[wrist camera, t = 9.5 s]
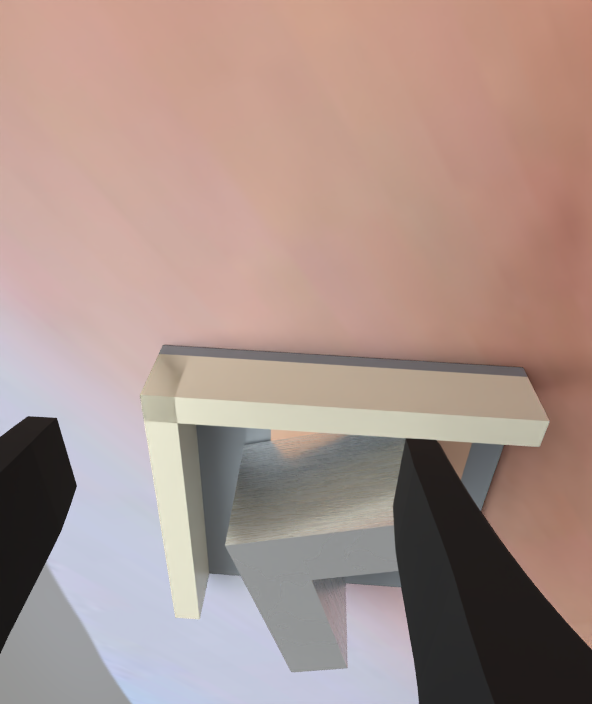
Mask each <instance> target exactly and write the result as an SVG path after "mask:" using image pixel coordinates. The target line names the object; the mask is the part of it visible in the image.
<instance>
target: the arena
mask: <svg viewBox="0 0 592 704" xmlns="http://www.w3.org/2000/svg"><path fill="white" fill-rule="evenodd" d="M140 399H141V405H142V411H143V418H144V424H145V430H146V436H147V443H148V449H149V455H150V462H151V468H152V474H153V480H154V487H155V493H156V499H157V506H158V512H159V518H160V524H161V531H162V537H163V543H164V549H165V556H166V562H167V568H168V575H169V581H170V587H171V593H172V600H173V606H174V612H175V618H188V619H200V615H201V610H202V606H203V601H204V596H205V591H206V586H207V581H208V577H209V573H210V574H224V575H238V576H241V575H240V573H239V572H238V570H237V568H236V566H235V564H234V562H233V560H232V558H231V556H230V554H229V552H228V551H227V549H226V547H225V543H226V537H227V532H228V527H229V522H230V516H231V511H232V506H233V500H234V495H235V490H236V485H237V479H238V474H239V469H240V463H241V458H242V453H243V447H244V445H247V444H253V443H260V442H266V441H272V440H279V439H285V438H292V437H298V436H304V435H311V434H317V433H333V434H349V435H364V436H379V437H394V438H414V439H431V440H437V441H438V443H439V444H440V445H441V447H442V449H443V450H444V452H445V454H446V456H447V458H448V459H449V461H450V463H451V465H452V466H453V468H454V470H455V471H456V473H457V475H458V476H459V478H460V480H461V481H462V483H463V484H464V486H465V488H466V489H467V491H468V493H469V494H470V496H471V497H472V499H473V500H474V502H475V503H476V505H477V507H478V508H479V509H480V511H481V509H482V506H483V503H484V500H485V497H486V495H487V492H488V489H489V486H490V483H491V480H492V477H493V475H494V472H495V469H496V466H497V463H498V460H499V458H500V455H501V452H502V449H503V446H504V445H516V446H532V447H540V444H541V442H542V439H543V437H544V434H545V432H546V429H547V427H548V424H549V422H550V421H549V419H548V417H547V415H546V413H545V411H544V409H543V407H542V405H541V403H540V401H539V399H538V397H537V395H536V393H535V391H534V389H533V387H532V385H531V383H530V381H529V379H528V377H527V375H526V372H525V370H524V368H521V367H505V366H489V365H473V364H457V363H441V362H425V361H409V360H393V359H377V358H361V357H345V356H329V355H313V354H297V353H281V352H264V351H248V350H232V349H216V348H200V347H184V346H168V345H163V346H162V348H161V350H160V353H159V355H158V357H157V359H156V361H155V363H154V366H153V368H152V370H151V372H150V374H149V376H148V378H147V381H146V383H145V385H144V387H143V389H142V391H141V394H140ZM345 581H346V583H349V584H363V585H377V586H391V587H401V582H400V576H399V571H393V572H383V573H374V574H364V575H355V576H345Z"/></svg>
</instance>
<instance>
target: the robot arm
mask: <svg viewBox="0 0 592 704" xmlns="http://www.w3.org/2000/svg"><path fill="white" fill-rule="evenodd" d="M76 487H77V485H76V481H75V478H74V475H73V471H72V468H71V465H70V461H69V458H68V454H67V451H66V448H65V444H64V441H63V437H62V434H61V431H60V427H59V424H58V420H57V418H48V417H30V416H28V417H26V418H25V419H24V420H22V421H21V422H19V423H18V424H17V425H15V426H14V427H13V428H11V429H10V430H9V431H7V432H6V433H5V434H4V435H2V436H1V437H0V653H1V651H2V649H3V647H4V644H5V642H6V640H7V638H8V636H9V634H10V631H11V630H12V628H13V626H14V624H15V622H16V620H17V618H18V616H19V614H20V612H21V610H22V608H23V606H24V604H25V602H26V600H27V598H28V596H29V594H30V592H31V590H32V588H33V586H34V585H35V583H36V580H37V579H38V577H39V575H40V573H41V571H42V569H43V566H44V565H45V563H46V561H47V559H48V557H49V555H50V553H51V551H52V549H53V547H54V545H55V543H56V541H57V539H58V536H59V534H60V532H61V530H62V527H63V524H64V522H65V519H66V516H67V514H68V511H69V508H70V505H71V502H72V499H73V496H74V493H75V490H76ZM393 518H394V536H395V551H396V558H397V565H398V571H399V576H400V582H401V588H402V594H403V600H404V606H405V611H406V617H407V623H408V629H409V635H410V640H411V646H412V652H413V658H414V664H415V671H416V679H417V686H418V696H419V704H592V650H591V648H590V647H589V646H588V645H587V644H586V643H585V642H584V641H583V640H582V639H581V638H580V636H579V635H578V634H577V633H576V632H575V631H574V630H573V629H572V628H571V627H570V626H569V624H568V623H567V622H566V621H565V620H564V619H563V618H562V616H561V615H560V614H559V613H558V612H557V611H556V610H555V608H554V607H553V606H552V605H551V604H550V603H549V601H548V600H547V599H546V598H545V597H544V596H543V594H542V593H541V592H540V591H539V589H538V588H537V587H536V586H535V585H534V583H533V582H532V581H531V580H530V578H529V577H528V576H527V575H526V573H525V572H524V571H523V569H522V568H521V567H520V565H519V564H518V563H517V561H516V560H515V559H514V558H513V556H512V555H511V554H510V552H509V551H508V550H507V548H506V547H505V545H504V544H503V543H502V541H501V540H500V539H499V537H498V536H497V534H496V533H495V531H494V530H493V528H492V527H491V526H490V524H489V523H488V521H487V520H486V518H485V517H484V515H483V514H482V512H481V511H480V509H479V508H478V507H477V505H476V503H475V502H474V500H473V499H472V497H471V496H470V494H469V493H468V491H467V489H466V488H465V486H464V484H463V483H462V481H461V480H460V478H459V476H458V475H457V473H456V471H455V470H454V468H453V466H452V465H451V463H450V461H449V459H448V458H447V456H446V454H445V452H444V450H443V449H442V447H441V445H440V444H439V443H438V441H437V440H431V439H414V438H406V439H405V444H404V449H403V455H402V460H401V465H400V470H399V476H398V481H397V486H396V491H395V496H394V502H393Z"/></svg>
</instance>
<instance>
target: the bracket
mask: <svg viewBox="0 0 592 704" xmlns="http://www.w3.org/2000/svg"><path fill="white" fill-rule="evenodd" d="M405 439H406V438H394V437H379V436H364V435H349V434H333V433H317V434H311V435H304V436H298V437H292V438H285V439H279V440H272V441H266V442H260V443H253V444H247V445H244V447H243V453H242V458H241V463H240V469H239V474H238V479H237V485H236V490H235V495H234V500H233V506H232V511H231V516H230V522H229V527H228V532H227V537H226V543H225V547H226V549H227V551H228V552H229V554H230V556H231V558H232V560H233V562H234V564H235V566H236V568H237V570H238V572H239V573H240V575H241V577H242V579H243V581H244V583H245V585H246V587H247V589H248V591H249V592H250V594H251V596H252V598H253V600H254V602H255V604H256V606H257V608H258V610H259V612H260V613H261V615H262V617H263V619H264V621H265V623H266V625H267V627H268V629H269V631H270V632H271V634H272V636H273V638H274V640H275V642H276V644H277V646H278V648H279V650H280V652H281V653H282V655H283V657H284V659H285V661H286V663H287V665H288V667H289V669H290V671H291V672H303V671H316V670H330V669H344V668H348V666H347V624H346V581H345V576H355V575H364V574H374V573H383V572H393V571H398V565H397V558H396V551H395V536H394V518H393V502H394V496H395V491H396V486H397V481H398V476H399V470H400V465H401V460H402V455H403V449H404V444H405Z"/></svg>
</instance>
